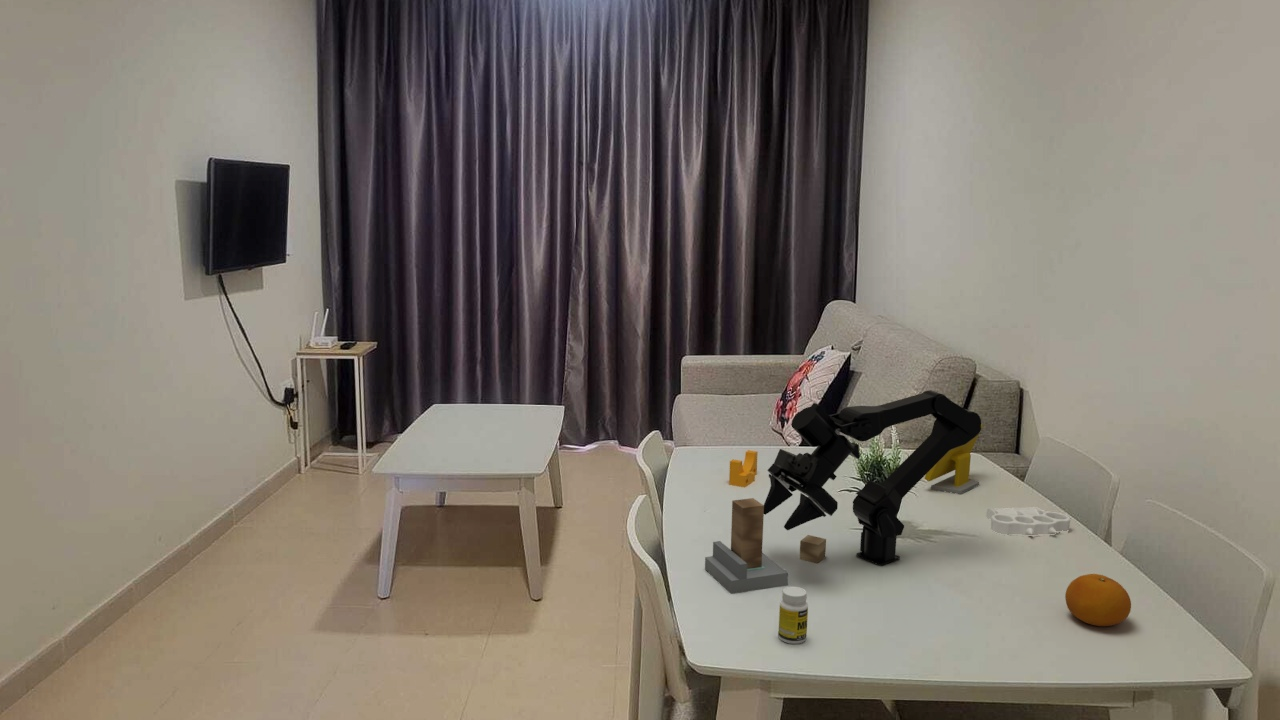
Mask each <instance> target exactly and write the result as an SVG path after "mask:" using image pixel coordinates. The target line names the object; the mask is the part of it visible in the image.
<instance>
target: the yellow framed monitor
mask: <svg viewBox="0 0 1280 720" xmlns="http://www.w3.org/2000/svg"><path fill="white" fill-rule="evenodd" d="M983 427H984V426H983V424H982V423H981V430H982V429H983ZM979 435H980V433H979V434H978V435H977V436H976V437H975V438H973V439H972V440H971V441H969V442H968V443H967V444H965V445H962V446H960V447H957V448H954V449H951V450H950V451H949V452H948V453H947V454H946V455H945V456H944V457H943V458H942V459H941V460H940V461H939V462H938V463H937V464H936V465H935V466H934V467H933V468H932V469H931V470H930V471H929V472H928V473H927V474H926V475H925V476H924V480H926V481H927V482H932V481H933V480H936V479H938V478H941V477H942V476H945V475H947V474H949V473H952V472H954V471H955V472H954V475H951V476H949V477H946V478H944V479H943V480H940V481H938V482H936V483H934V484H932V485H931V487H930V489H931V490H933V489H935V490H934V491H938V490H940V491H939V492H944V491H946V492H945V493H950V492H952V493H951V494H955V493H958V494H957V495H962V494H964V493H966V492H968V491H970V489H971V490H973V489H974V487H975V488H977V487H978V485H979V486H980V481H979V480H975V479H974V478H973V479H972V478H970V470H971V456H972V455H971V454H972V453H971V452H972V450H973V448H974V446H975V444H976V443H977V442H976V441H977V440H978V437H979ZM976 486H977V487H976ZM972 488H973V489H972Z"/></svg>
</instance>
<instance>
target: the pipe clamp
mask: <svg viewBox="0 0 1280 720" xmlns="http://www.w3.org/2000/svg"><path fill="white" fill-rule="evenodd" d="M757 473H758V451H755V450H750V449H748V450H747V451H745V455H744V460H739V459H731V460H729V474H728V475H729V480H728V485H729V486H735V487H740V488H747V487H748V486H749V485H751V484H752V483H754V482H755V479H756V475H757Z"/></svg>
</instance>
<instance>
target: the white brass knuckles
mask: <svg viewBox="0 0 1280 720" xmlns="http://www.w3.org/2000/svg"><path fill="white" fill-rule="evenodd" d="M985 513H986V514H985V515H986V517H987V519H988V518H990V519H991V520H990V530H991V529H992V530H993V531H995V532H997V533H1001V534H1007V535H1009V534H1022V535H1038V534H1055V533H1057V532H1056V531H1062V530H1063V531H1067V530H1069V531H1070V527H1071V518H1070V517H1069V516H1068V515H1066V514H1064V513H1061V512H1057V511H1056V512H1055V511H1047V510H1043V509H1042V508H1040V507H1037V506H1034V505H1033V506H1029V507H1014V506H1013V507H1007V508H1005V507H1003V508H1000V507H999V508H993V507H990V508H987V510H986V512H985ZM993 531H992V532H993ZM995 532H994V533H995ZM997 533H996V534H997ZM1055 535H1056V534H1055ZM1009 536H1010V535H1009Z"/></svg>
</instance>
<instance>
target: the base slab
mask: <svg viewBox="0 0 1280 720" xmlns="http://www.w3.org/2000/svg"><path fill="white" fill-rule="evenodd" d="M704 560H705V561H704V570H705V571H707V573H709V574H710V575H711V576H712V577H713V578H714V579H715V580H716V581H718V583H719V584H720V585H721V586H722V587H723V588H725V589H726V590H727V591H728V592H729V593H730V594H737V593H742V592H748V591H749V592H750V591H756V590H763V589H770V588H775V587H783V586H788V585H789V572H788V571H787V570H786V569H784V568H783V567H782V566H780V565H779V564H778V563H777V562H775V561H774V560H773V559H772V558H770V557H769V556H768V555H766V554H765V553H764V552H763V551H762V567H758V568H751V569H747V563H746V562H745V561H743V560H742V559H741V558H740V557H739V556H737V555H736V554H735V553H734V552H733V551H731V548H729V547H728V546H727V545H726V544H724V543H723V542H722V541H721V540H718V541H713V542H712V556H711V555H710V556H705V557H704Z"/></svg>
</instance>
